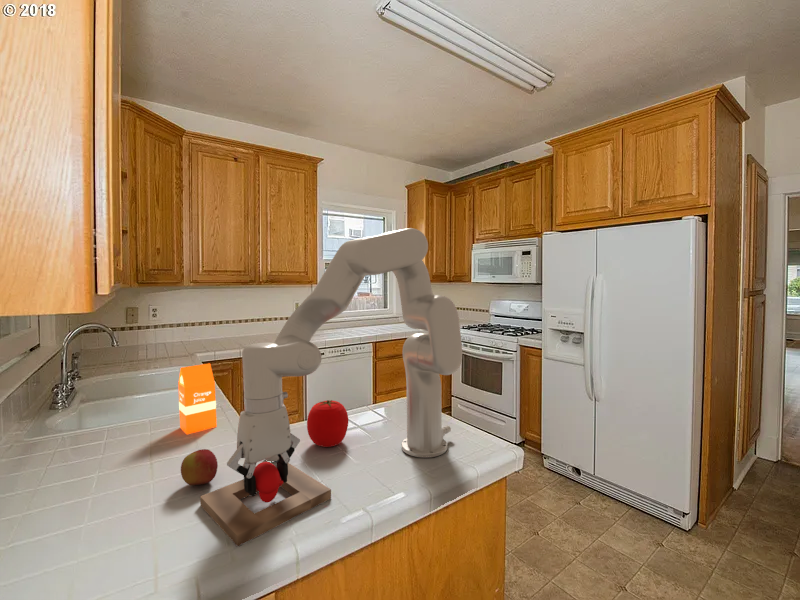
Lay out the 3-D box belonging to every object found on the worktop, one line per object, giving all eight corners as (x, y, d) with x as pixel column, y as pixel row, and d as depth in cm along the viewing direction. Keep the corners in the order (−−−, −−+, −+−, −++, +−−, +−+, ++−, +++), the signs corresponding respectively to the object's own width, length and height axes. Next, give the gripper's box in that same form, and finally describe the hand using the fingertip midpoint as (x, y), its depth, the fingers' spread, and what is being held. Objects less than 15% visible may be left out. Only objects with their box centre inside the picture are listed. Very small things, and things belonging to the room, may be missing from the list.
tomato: (329, 456, 101) (328, 410, 100) (298, 447, 107) (296, 402, 106) (358, 439, 111) (357, 397, 111) (328, 431, 117) (327, 391, 117)
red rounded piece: (245, 473, 83) (242, 470, 78) (272, 457, 85) (271, 454, 80) (260, 508, 80) (258, 508, 75) (287, 492, 83) (287, 490, 78)
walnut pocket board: (287, 470, 94) (287, 462, 94) (331, 498, 82) (330, 489, 82) (200, 505, 80) (200, 496, 80) (237, 546, 67) (237, 535, 67)
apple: (222, 473, 93) (220, 441, 92) (213, 491, 85) (212, 456, 85) (188, 477, 91) (186, 444, 91) (175, 496, 83) (174, 460, 83)
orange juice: (179, 427, 122) (177, 365, 121) (209, 420, 128) (207, 361, 127) (186, 434, 116) (183, 369, 115) (217, 426, 122) (214, 365, 121)
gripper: (291, 390, 88) (294, 465, 89) (213, 409, 76) (217, 497, 77) (309, 396, 83) (312, 476, 84) (229, 418, 71) (233, 512, 72)
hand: (267, 485), depth 81 cm, fingers closed on red rounded piece, 6 cm apart
